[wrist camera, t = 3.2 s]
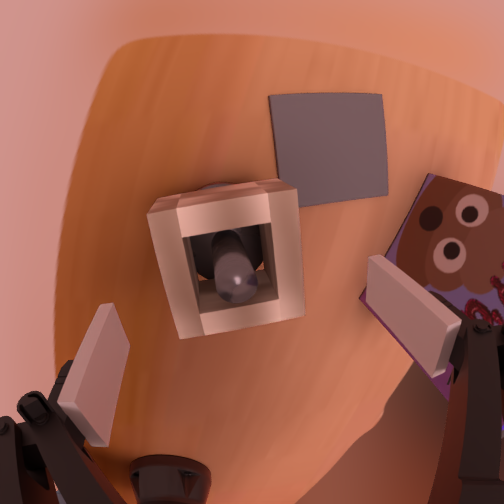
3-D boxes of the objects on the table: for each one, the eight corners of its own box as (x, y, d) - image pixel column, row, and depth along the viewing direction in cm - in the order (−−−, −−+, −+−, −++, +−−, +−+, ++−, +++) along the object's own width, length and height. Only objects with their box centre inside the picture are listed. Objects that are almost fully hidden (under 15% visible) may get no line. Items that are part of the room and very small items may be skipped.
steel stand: (188, 268, 30) (184, 350, 19) (172, 190, 28) (151, 230, 16) (266, 254, 31) (307, 327, 19) (257, 176, 28) (300, 205, 16)
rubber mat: (281, 208, 30) (283, 210, 29) (268, 96, 26) (269, 95, 25) (385, 194, 31) (388, 195, 31) (378, 94, 27) (381, 94, 26)
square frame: (182, 303, 25) (180, 339, 20) (157, 198, 22) (146, 214, 17) (287, 284, 26) (305, 315, 21) (277, 178, 23) (296, 188, 18)
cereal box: (427, 173, 31) (607, 239, 9) (448, 192, 33) (608, 264, 10) (358, 298, 35) (484, 447, 13) (383, 309, 37) (501, 441, 15)
